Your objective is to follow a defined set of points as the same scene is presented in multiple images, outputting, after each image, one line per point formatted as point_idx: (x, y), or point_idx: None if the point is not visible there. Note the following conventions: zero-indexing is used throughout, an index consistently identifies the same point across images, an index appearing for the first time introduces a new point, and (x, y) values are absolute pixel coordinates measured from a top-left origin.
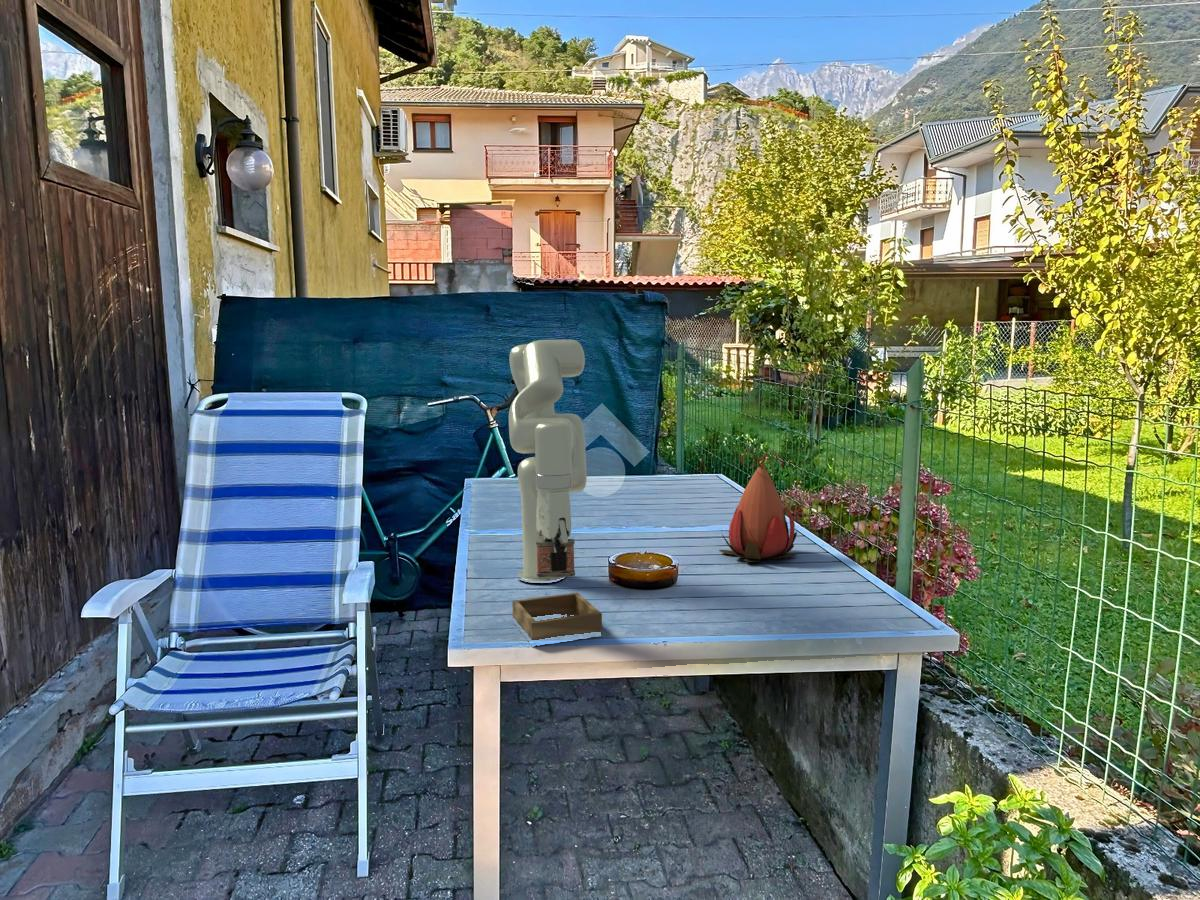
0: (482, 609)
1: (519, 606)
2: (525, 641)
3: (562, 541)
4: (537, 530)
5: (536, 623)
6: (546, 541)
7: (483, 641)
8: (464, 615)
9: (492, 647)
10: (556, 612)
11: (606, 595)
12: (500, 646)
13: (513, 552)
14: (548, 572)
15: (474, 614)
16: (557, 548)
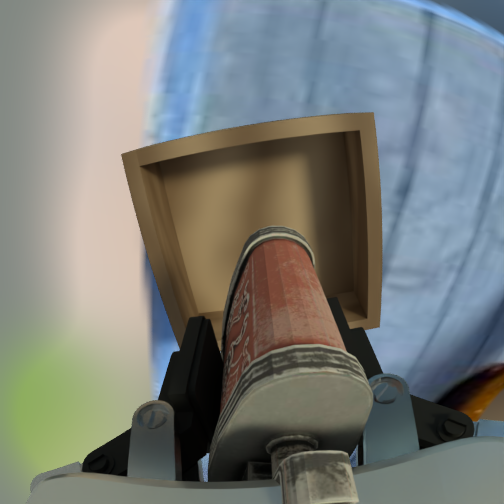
0: (464, 64)
1: (304, 125)
2: (193, 130)
3: (33, 485)
4: (457, 448)
5: (125, 169)
6: (262, 441)
7: (219, 20)
8: (431, 10)
9: (169, 43)
10: (353, 244)
11: (438, 357)
12: (171, 63)
13: None
14: (234, 294)
15: (434, 34)
16: (120, 442)
